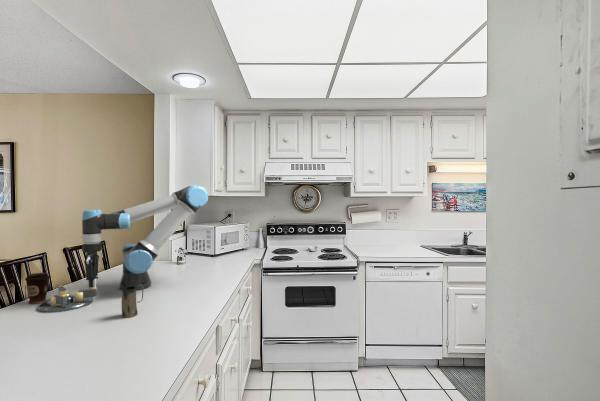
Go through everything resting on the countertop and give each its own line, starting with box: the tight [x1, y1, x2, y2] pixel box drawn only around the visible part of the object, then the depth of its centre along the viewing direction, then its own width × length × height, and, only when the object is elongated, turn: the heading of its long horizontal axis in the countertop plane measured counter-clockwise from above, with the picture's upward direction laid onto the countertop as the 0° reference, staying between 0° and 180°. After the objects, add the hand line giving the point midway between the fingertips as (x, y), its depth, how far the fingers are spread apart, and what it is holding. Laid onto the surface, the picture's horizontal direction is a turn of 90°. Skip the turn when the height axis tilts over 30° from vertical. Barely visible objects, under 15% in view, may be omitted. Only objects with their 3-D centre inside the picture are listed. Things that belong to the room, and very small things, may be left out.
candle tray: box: [37, 292, 94, 313], centre depth 145 cm, size 20×20×5 cm
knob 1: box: [58, 284, 70, 295], centre depth 150 cm, size 8×4×5 cm, turn 47°
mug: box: [121, 285, 144, 319], centre depth 131 cm, size 8×6×12 cm
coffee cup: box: [24, 272, 50, 305], centre depth 149 cm, size 9×8×13 cm
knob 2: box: [50, 293, 67, 307], centre depth 139 cm, size 8×4×5 cm, turn 65°
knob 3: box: [74, 286, 98, 302], centre depth 147 cm, size 8×4×5 cm, turn 107°
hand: (92, 293), depth 152 cm, fingers closed
